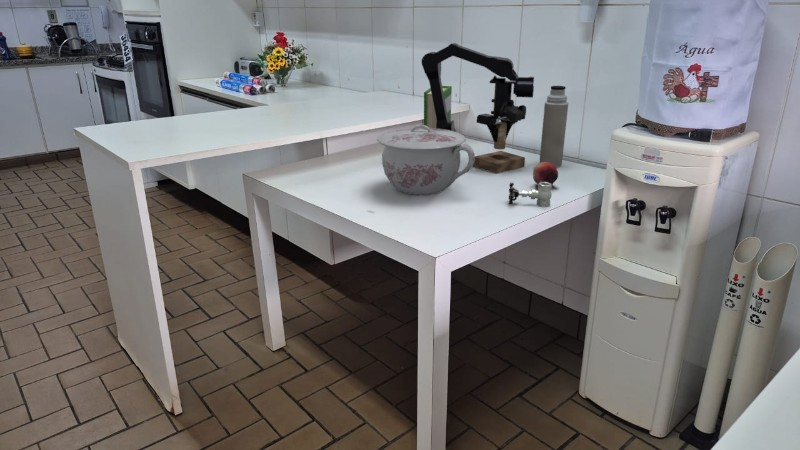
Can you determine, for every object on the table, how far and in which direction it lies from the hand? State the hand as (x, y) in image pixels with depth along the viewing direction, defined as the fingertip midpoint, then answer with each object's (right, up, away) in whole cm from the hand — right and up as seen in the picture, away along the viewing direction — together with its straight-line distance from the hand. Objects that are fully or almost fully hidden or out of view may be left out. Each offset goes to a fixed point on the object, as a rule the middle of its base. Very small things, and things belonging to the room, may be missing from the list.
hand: (499, 141), depth 195 cm
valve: (+3, -24, -33) cm, 41 cm away
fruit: (+11, -18, -18) cm, 28 cm away
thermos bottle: (+19, -8, +6) cm, 22 cm away
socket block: (0, -9, +4) cm, 9 cm away
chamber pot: (-29, -19, -19) cm, 39 cm away
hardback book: (-20, +1, +27) cm, 34 cm away
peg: (0, -2, +1) cm, 3 cm away
